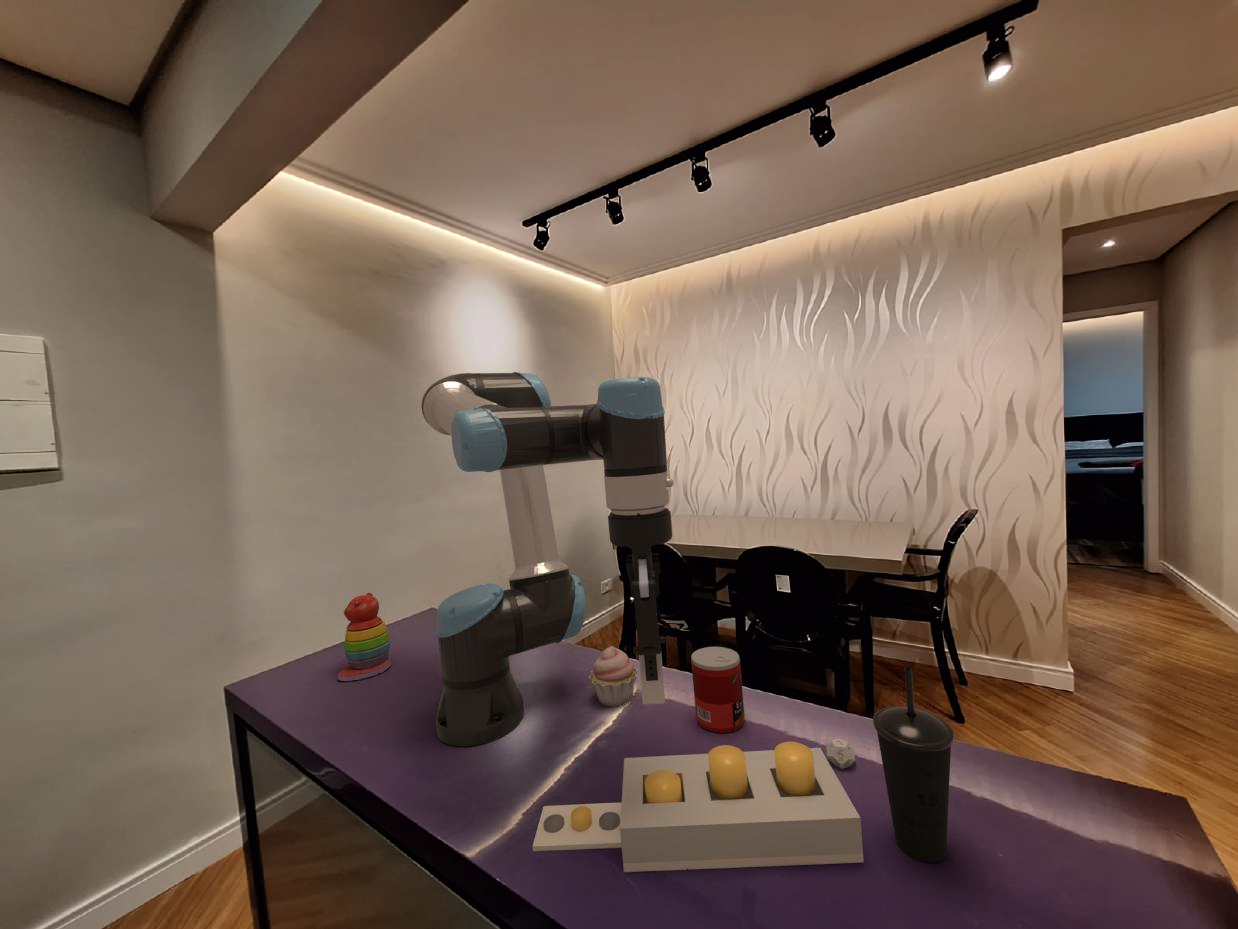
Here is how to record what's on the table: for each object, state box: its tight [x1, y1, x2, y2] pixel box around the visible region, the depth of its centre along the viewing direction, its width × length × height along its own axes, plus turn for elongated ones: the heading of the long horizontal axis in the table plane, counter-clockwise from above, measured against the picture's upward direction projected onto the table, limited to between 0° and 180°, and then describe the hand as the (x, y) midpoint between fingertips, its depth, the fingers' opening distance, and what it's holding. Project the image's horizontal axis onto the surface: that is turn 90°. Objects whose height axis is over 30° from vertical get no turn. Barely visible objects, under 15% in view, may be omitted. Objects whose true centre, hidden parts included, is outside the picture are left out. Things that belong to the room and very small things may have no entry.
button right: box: [774, 741, 816, 797], centre depth 58 cm, size 4×4×4 cm
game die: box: [826, 737, 856, 770], centre depth 68 cm, size 4×4×3 cm
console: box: [620, 747, 865, 873], centre depth 59 cm, size 26×12×5 cm, turn 87°
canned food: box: [690, 646, 745, 734], centre depth 81 cm, size 8×8×11 cm
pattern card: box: [532, 801, 622, 852], centre depth 61 cm, size 11×6×2 cm, turn 87°
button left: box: [645, 770, 682, 804], centre depth 59 cm, size 4×4×4 cm
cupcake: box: [588, 645, 639, 707], centre depth 91 cm, size 9×9×10 cm
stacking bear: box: [337, 592, 391, 677], centre depth 113 cm, size 11×10×18 cm
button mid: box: [707, 744, 748, 800], centre depth 59 cm, size 4×4×4 cm
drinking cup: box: [872, 666, 955, 864], centre depth 54 cm, size 8×8×20 cm
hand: (653, 700), depth 59 cm, fingers closed
